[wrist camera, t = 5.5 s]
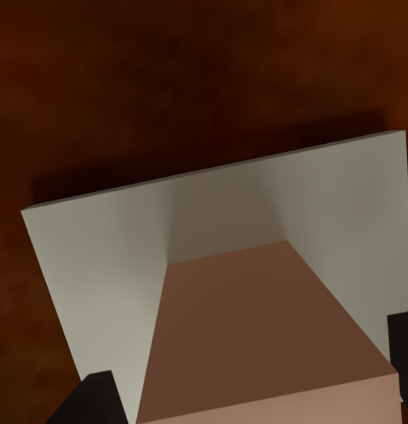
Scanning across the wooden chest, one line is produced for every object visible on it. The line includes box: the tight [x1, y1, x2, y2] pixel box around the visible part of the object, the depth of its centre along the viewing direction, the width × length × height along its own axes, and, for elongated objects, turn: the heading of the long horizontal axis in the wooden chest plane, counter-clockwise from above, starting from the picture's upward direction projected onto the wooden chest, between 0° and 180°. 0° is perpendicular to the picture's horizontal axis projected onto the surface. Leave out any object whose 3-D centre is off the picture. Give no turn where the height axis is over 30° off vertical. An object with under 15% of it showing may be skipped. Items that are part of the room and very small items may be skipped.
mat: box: [21, 130, 408, 424], centre depth 12 cm, size 12×10×1 cm
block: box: [136, 240, 402, 424], centre depth 8 cm, size 4×4×6 cm
